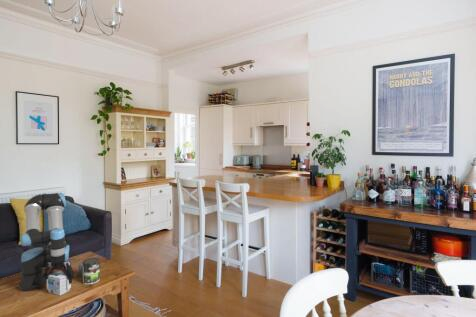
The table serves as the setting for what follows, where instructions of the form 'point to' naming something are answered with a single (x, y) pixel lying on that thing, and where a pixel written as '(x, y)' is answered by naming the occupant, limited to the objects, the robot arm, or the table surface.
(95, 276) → the coffee can
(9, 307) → the table surface
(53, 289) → the light bulb box
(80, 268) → the grey domed cylinder
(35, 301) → the table surface
